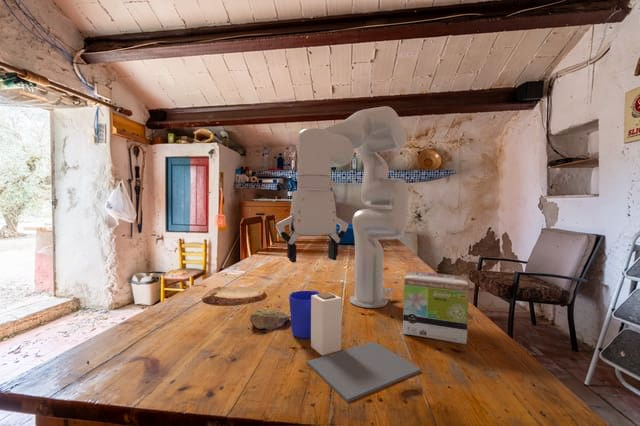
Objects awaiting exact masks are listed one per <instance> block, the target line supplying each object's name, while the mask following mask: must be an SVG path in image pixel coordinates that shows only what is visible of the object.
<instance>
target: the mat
mask: <svg viewBox="0 0 640 426" xmlns="http://www.w3.org/2000/svg"><path fill="white" fill-rule="evenodd" d="M306 365H308V367H310V368H311V369H312V370H313V371H314V372H315V373H316V374H317V375H318V376H319V377H320V378H321V379H322V380H323V381H325V382H326V384H327V385H328V386H329V387H330V388H331V389H333V391H335V392H336V394H338V395H339V396H340V397H341V398H342V399H343V400H344V401H345V402H346V403H349V402H352V401H353V400H356V399H359V398H362V397H363V396H364V397H365V396H367V395H368V394H371V393H373V392H376V391H378V390H381V389H383V388H385V387H388V386H391V385H392V384H394V383H398V382H400V381H401V380H404V379H406V378H410V377H412V376H415V375H417V374H419V373H421V372H422V370H421V368H419V367H418V366H417V365H414V364H413V363H411V362H410V361H407V360H406V359H404V358H402V357H401V356H399V355H398V354H396V353H394V352H392V351H391V350H389V349H387V348H385V347H384V346H382V345H381V344H379V343H377V342H375V341H373V340H372V341H369V342H367V343H363V344H360V345H356V346H353V347H349V348H346V349H341V350H339V351H336V352H333V353H329V354H326V355H323V356H320V357H317V358H314V359H309V360H308V361H306Z"/></svg>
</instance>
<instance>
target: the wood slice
mask: <svg viewBox="0 0 640 426" xmlns="http://www.w3.org/2000/svg"><path fill="white" fill-rule="evenodd" d="M267 297H268V295H267V292H266V291H265V289H263V288H259V287H249V286H248V287H247V286H246V287H245V286H234V287H233V286H217V287H214V288H212V289H211V290H209V291H208V292H206V293H205V294H204V295H203V296H202V298H201V301H203V302H202V303H208V304H211V305H218V304H220V305H222V306H223V305H225V304H226V305H237V304H248V302H249V303H253V302H258V301H261V300H264V299H265V298H267ZM226 305H225V306H226Z"/></svg>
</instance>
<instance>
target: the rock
mask: <svg viewBox="0 0 640 426" xmlns="http://www.w3.org/2000/svg"><path fill="white" fill-rule="evenodd" d="M290 319H291V315H290V314H288V313H285V312H284V311H281V310H278V309H276V308H267V309H264V308H260V309H257V310H256V311H254V312H253V313H252V314H250V317H249V320H250V323H251V324H252V325H253V326H255V328H256V329H259V330H261V329H266V330H274V329H277V328H279V327H283V326H284V324H285V323H286V322H288V321H289V320H290Z"/></svg>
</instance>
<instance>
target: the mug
mask: <svg viewBox="0 0 640 426" xmlns="http://www.w3.org/2000/svg"><path fill="white" fill-rule="evenodd" d="M317 294H321V293H320V292H319V291H318V290H298V291H294V292H292V293H290V294H289V296H288V298H289V299H288V300H289V315H290V316H291V317H290V325H291V328H290V329H291V333H292V335H293V336H294V337H296V338H299V339H311V295H317Z"/></svg>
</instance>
